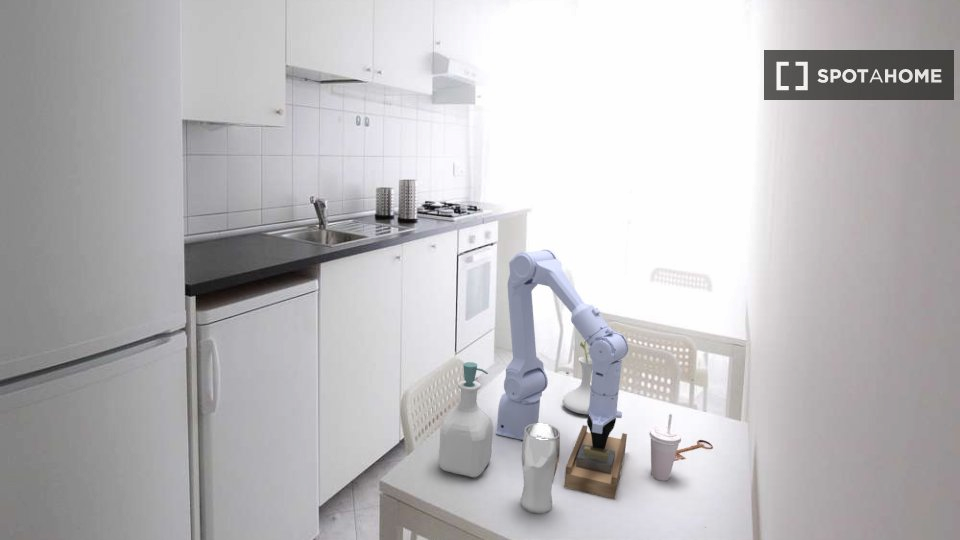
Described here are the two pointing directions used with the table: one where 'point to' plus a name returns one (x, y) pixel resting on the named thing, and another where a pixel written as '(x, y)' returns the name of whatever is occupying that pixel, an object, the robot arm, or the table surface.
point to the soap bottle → (466, 431)
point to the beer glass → (539, 466)
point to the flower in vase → (581, 388)
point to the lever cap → (595, 458)
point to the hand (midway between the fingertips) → (598, 450)
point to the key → (691, 449)
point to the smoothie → (663, 450)
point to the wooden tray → (591, 478)
